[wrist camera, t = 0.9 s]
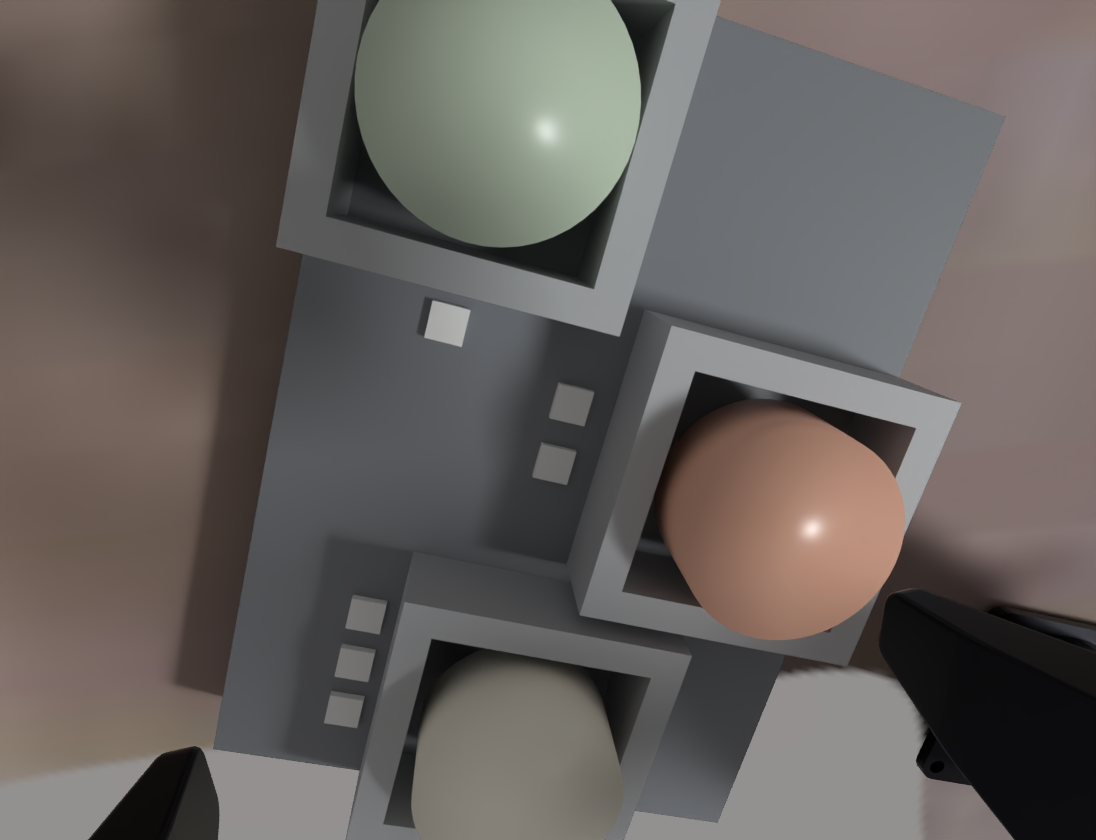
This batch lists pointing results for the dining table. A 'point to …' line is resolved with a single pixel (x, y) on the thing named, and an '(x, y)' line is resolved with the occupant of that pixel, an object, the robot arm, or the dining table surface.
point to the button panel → (579, 402)
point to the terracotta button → (778, 519)
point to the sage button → (498, 112)
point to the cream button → (515, 753)
